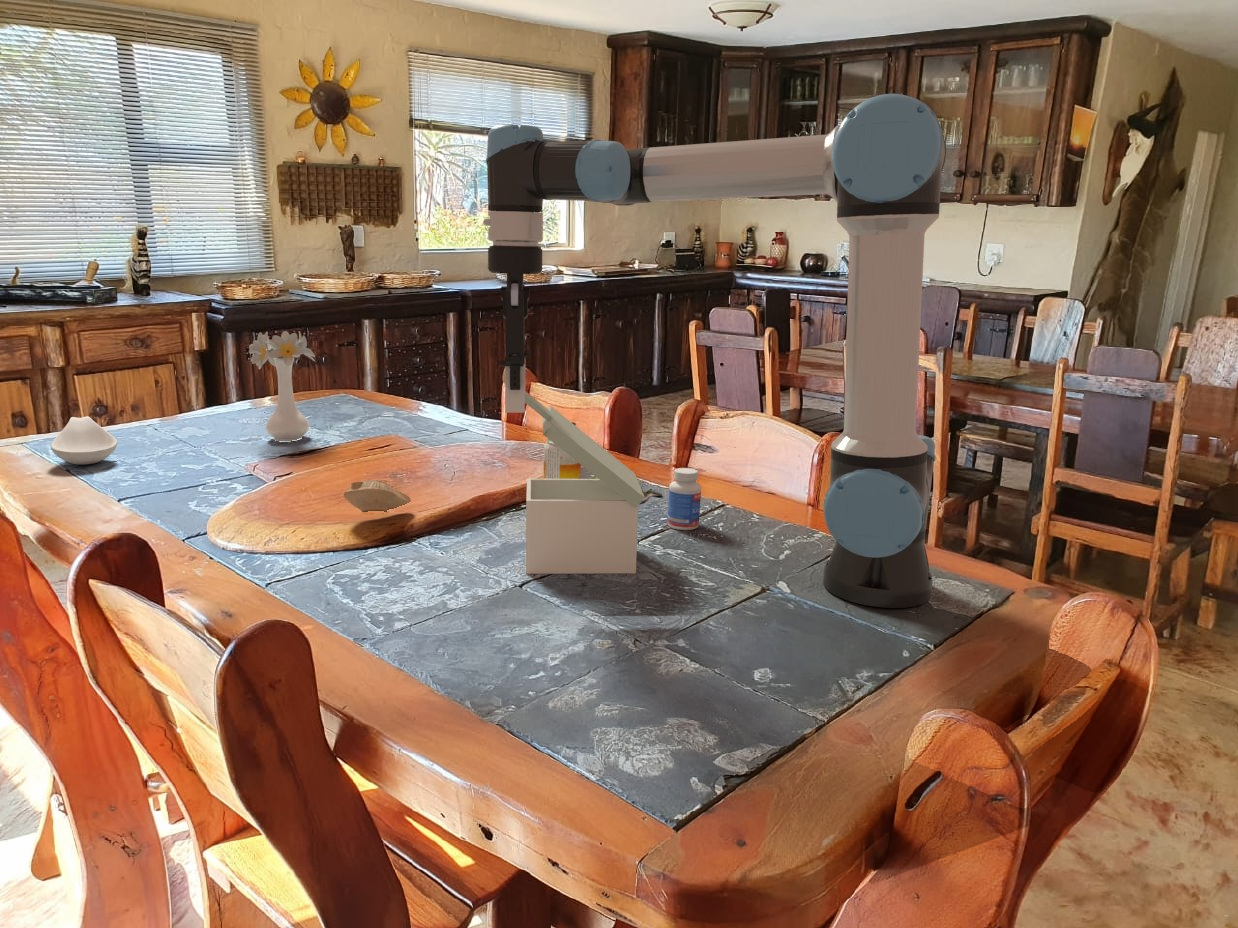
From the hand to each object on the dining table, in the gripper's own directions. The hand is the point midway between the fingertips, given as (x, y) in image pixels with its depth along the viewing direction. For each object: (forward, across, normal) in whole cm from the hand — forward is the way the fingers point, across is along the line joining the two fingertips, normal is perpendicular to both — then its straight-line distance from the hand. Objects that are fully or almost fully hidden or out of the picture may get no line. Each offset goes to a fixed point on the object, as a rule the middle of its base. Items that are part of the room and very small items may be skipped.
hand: (515, 406), depth 133 cm
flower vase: (+23, -78, -54) cm, 98 cm away
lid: (+12, 0, +18) cm, 22 cm away
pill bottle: (+24, -16, +28) cm, 40 cm away
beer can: (+24, -15, +7) cm, 29 cm away
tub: (+23, 0, +10) cm, 25 cm away
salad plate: (+24, -35, +20) cm, 47 cm away
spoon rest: (+23, -64, -91) cm, 114 cm away
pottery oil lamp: (+23, -22, -23) cm, 40 cm away
